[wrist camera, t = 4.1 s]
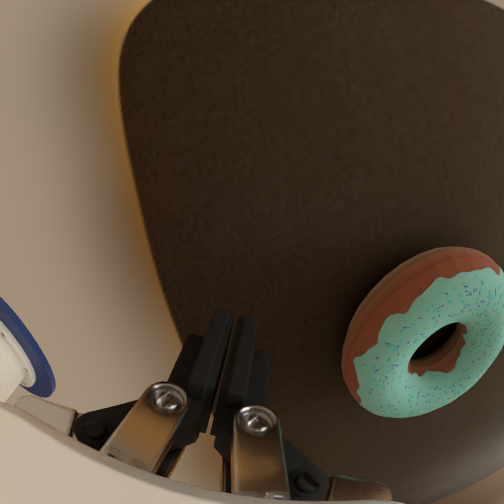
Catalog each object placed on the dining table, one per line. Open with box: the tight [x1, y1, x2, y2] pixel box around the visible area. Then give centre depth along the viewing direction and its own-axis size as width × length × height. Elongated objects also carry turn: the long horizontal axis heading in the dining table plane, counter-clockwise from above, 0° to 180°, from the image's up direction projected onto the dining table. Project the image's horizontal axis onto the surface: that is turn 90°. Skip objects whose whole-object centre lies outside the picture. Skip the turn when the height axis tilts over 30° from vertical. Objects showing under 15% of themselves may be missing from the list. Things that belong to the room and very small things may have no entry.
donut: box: [341, 247, 504, 418], centre depth 13 cm, size 12×12×4 cm
